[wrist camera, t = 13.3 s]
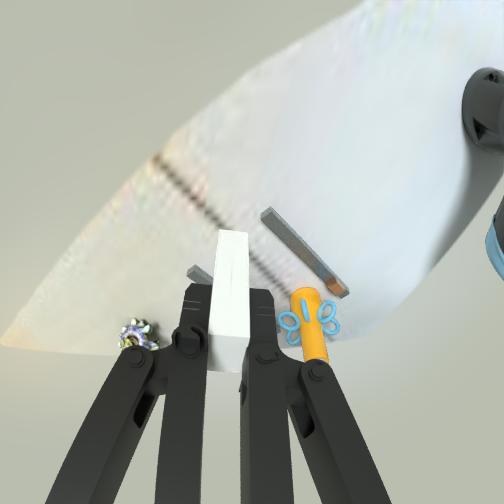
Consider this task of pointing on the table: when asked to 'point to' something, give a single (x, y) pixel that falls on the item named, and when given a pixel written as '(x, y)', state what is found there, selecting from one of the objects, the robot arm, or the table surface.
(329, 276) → the guide track
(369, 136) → the table surface
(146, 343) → the passion flower
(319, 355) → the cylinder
